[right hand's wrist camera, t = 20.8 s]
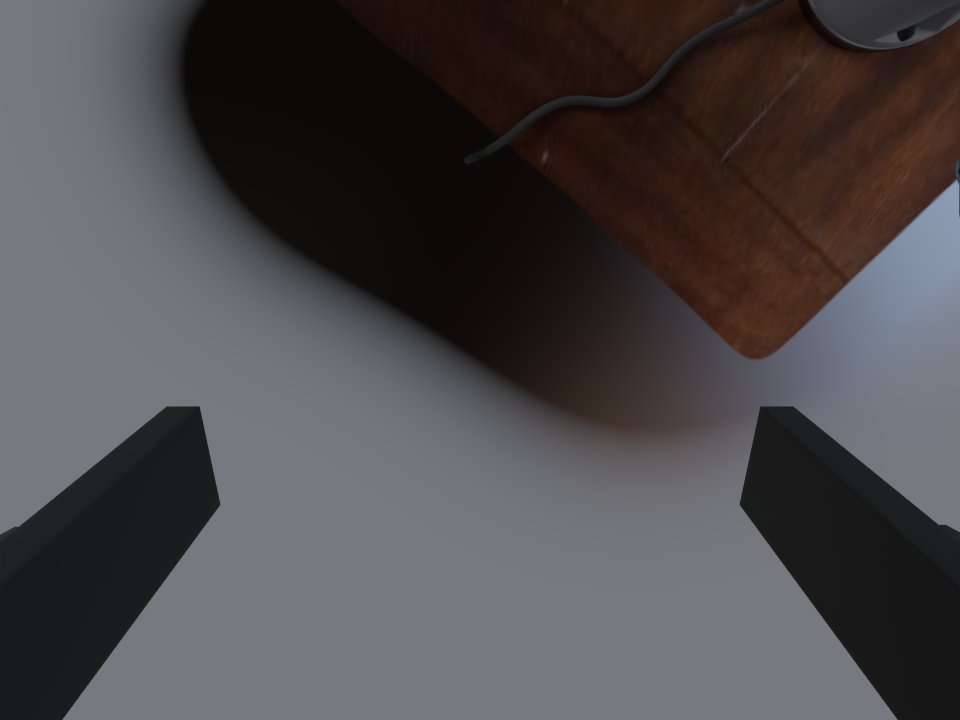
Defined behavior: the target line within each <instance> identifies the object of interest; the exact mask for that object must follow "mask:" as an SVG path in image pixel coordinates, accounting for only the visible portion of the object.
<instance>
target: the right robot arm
mask: <svg viewBox="0 0 960 720" xmlns="http://www.w3.org/2000/svg"><path fill="white" fill-rule="evenodd" d="M782 1H784V0H763V1H761V2H759V3H757V4H755V5H753V6H751V7H749V8H747V9H745V10H743V11H741V12H739V13H737V14H735V15H733V16H731V17H729V18H727V19H724V20H722V21H720V22H718V23H716V24H714V25H712V26H710V27H708V28H707V29H705V30H703V31H701V32H700V33H698V34H697V35H695V36H694V37H692V38H691V39H689V40H688V41H687V42H685V43H684V44H683V45H682V46H681V47H679V48H678V49H677V50H676V51H675V52H674V53H673V54H672V55H671V57H670V58H669V59H668V60H667V61H666V62H665V64H664V65H663V66H662V67H661V68H660V70H659V71H658V72H657V73H656V74H655V75H654V76H653V78H652V79H651V80H650V81H649V82H648V83H646V84H645V85H644V86H643V87H641V88H640V89H638V90H637V91H635V92H633V93H631V94H629V95H626V96H623V97H618V98H601V97H592V96H567V97H562V98H559V99H556V100H553V101H551V102H549V103H547V104H545V105H543V106H541V107H539V108H538V109H536V110H535V111H533V112H532V113H530V114H529V115H528V116H527V117H525V118H524V119H523V120H522V121H520V122H519V123H518V124H517V125H516V126H514V127H513V128H512V129H511V130H510V131H509V132H507V133H506V134H505V135H504V136H502V137H501V138H500V139H498V140H497V141H495V142H494V143H492V144H491V145H489V146H487V147H486V148H484V149H482V150H481V151H478V152H475V153H473V154H472V155H470V156H468V157H466V158H465V159H464V162H465V163H466V164H469V163H472V162H474V161H476V160H480V159H483V158H485V157H487V156H489V155H491V154H492V153H494V152H496V151H497V150H499V149H500V148H502V147H503V146H505V145H506V144H507V143H509V142H510V141H511V140H513V139H514V138H515V137H516V136H517V135H519V134H520V133H521V132H522V131H523V130H525V129H526V128H527V127H528V126H529V125H531V124H532V123H533V122H535V121H536V120H537V119H539V118H540V117H542V116H544V115H545V114H547V113H549V112H551V111H553V110H556V109H558V108H561V107H565V106H571V105H585V106H594V107H604V108H613V107H621V106H625V105H628V104H631V103H633V102H635V101H637V100H639V99H641V98H642V97H644V96H645V95H647V94H648V93H649V92H650V91H652V90H653V89H654V88H655V87H656V86H657V85H658V84H659V82H660V81H661V80H662V79H663V78H664V77H665V76H666V74H667V73H668V72H669V71H670V70H671V68H672V67H673V66H674V65H675V64H676V63H677V62H678V61H679V60H680V59H681V58H682V57H683V56H684V55H685V54H686V53H687V52H688V51H690V50H691V49H692V48H694V47H695V46H697V45H698V44H700V43H701V42H703V41H704V40H706V39H708V38H710V37H712V36H713V35H715V34H717V33H720V32H722V31H724V30H726V29H728V28H730V27H732V26H735V25H737V24H739V23H741V22H743V21H745V20H747V19H749V18H751V17H753V16H755V15H757V14H759V13H761V12H763V11H764V10H766V9H768V8H770V7H772V6H774V5H776V4H778V3H780V2H782ZM799 3H800V6H801V8H802V10H803V12H804V14H805V16H806V17H807V19H808V20H809V22H810V23H811V24H812V26H813V27H814V28H815V29H816V30H817V31H818V32H819V33H820V34H821V35H822V36H823V37H825V38H826V39H827V40H829V41H830V42H832V43H834V44H835V45H838V46H840V47H842V48H845V49H849V50H852V51H858V52H882V51H887V50H892V49H896V48H900V47H904V46H908V45H911V44H915V43H917V42H920V41H922V40H925V39H927V38H929V37H931V36H933V35H935V34H937V33H938V32H940V31H942V30H944V29H945V28H947V27H949V26H950V25H952V24H953V23H955V22H956V21H957V20H959V19H960V0H799ZM955 174H956V177H957V180H958V183H959V185H960V158H959V159H958V161H957V164H956V169H955ZM959 188H960V187H959ZM959 215H960V189H959ZM219 506H220V501H219V496H218V491H217V486H216V482H215V477H214V472H213V468H212V463H211V459H210V453H209V449H208V444H207V439H206V435H205V430H204V425H203V421H202V416H201V411H200V407H166V408H164V409H163V410H162V411H161V412H160V413H158V414H157V415H156V416H155V417H153V418H152V419H151V420H150V421H148V422H147V423H146V424H145V425H144V426H142V427H141V428H140V429H139V430H137V431H136V432H135V433H134V434H132V435H131V436H130V437H129V438H128V439H126V440H125V441H124V442H123V443H121V444H120V445H119V446H118V447H117V448H115V449H114V450H113V451H112V452H110V453H109V454H108V455H107V456H105V457H104V458H103V459H102V460H101V461H99V462H98V463H97V464H96V465H94V466H93V467H92V468H91V469H89V470H88V471H87V472H86V473H85V474H83V475H82V476H81V477H80V478H78V479H77V480H76V481H75V482H74V483H72V484H71V485H70V486H69V487H67V488H66V489H65V490H64V491H62V492H61V493H60V494H59V495H57V496H56V497H55V498H54V499H53V500H51V501H50V502H49V503H48V504H46V505H45V506H44V507H43V508H42V509H40V510H39V511H38V512H37V513H35V514H34V515H33V516H32V517H30V518H29V519H28V520H27V521H26V522H24V523H23V524H22V525H21V526H19V527H14V528H12V529H10V530H8V531H6V532H4V533H3V534H1V535H0V720H62V719H63V718H64V717H65V715H66V714H67V713H68V711H69V710H70V708H71V707H72V706H73V704H74V703H75V702H76V700H77V699H78V698H79V696H80V695H81V693H82V692H83V691H84V689H85V688H86V687H87V685H88V684H89V683H90V681H91V680H92V679H93V677H94V676H95V674H96V673H97V672H98V670H99V669H100V668H101V666H102V665H103V664H104V662H105V661H106V660H107V658H108V657H109V655H110V654H111V653H112V651H113V650H114V649H115V647H116V646H117V645H118V643H119V642H120V640H121V639H122V638H123V636H124V635H125V634H126V632H127V631H128V630H129V628H130V627H131V626H132V624H133V623H134V621H135V620H136V619H137V617H138V616H139V615H140V613H141V612H142V611H143V609H144V608H145V607H146V605H147V604H148V602H149V601H150V600H151V598H152V597H153V596H154V594H155V593H156V592H157V590H158V589H159V587H160V586H161V585H162V583H163V582H164V581H165V579H166V578H167V577H168V575H169V574H170V572H171V571H172V570H173V568H174V567H175V566H176V564H177V563H178V562H179V560H180V559H181V558H182V556H183V555H184V553H185V552H186V551H187V549H188V548H189V547H190V545H191V544H192V543H193V541H194V540H195V538H196V537H197V536H198V534H199V533H200V532H201V530H202V529H203V528H204V526H205V525H206V524H207V522H208V521H209V519H210V518H211V517H212V515H213V514H214V513H215V511H216V510H217V509H218V507H219ZM740 506H741V507H742V509H743V510H744V511H745V513H746V514H747V515H748V517H749V518H750V519H751V521H752V522H753V524H754V525H755V526H756V527H757V529H758V530H759V532H760V533H761V534H762V536H763V537H764V538H765V540H766V541H767V543H768V544H769V545H770V547H771V548H772V549H773V551H774V552H775V553H776V555H777V556H778V558H779V559H780V560H781V562H782V563H783V564H784V566H785V567H786V568H787V570H788V571H789V573H790V574H791V575H792V577H793V578H794V579H795V581H796V582H797V583H798V585H799V586H800V587H801V589H802V590H803V592H804V593H805V594H806V596H807V597H808V598H809V600H810V601H811V602H812V604H813V605H814V606H815V608H816V609H817V611H818V612H819V613H820V615H821V616H822V617H823V619H824V620H825V621H826V623H827V624H828V626H829V627H830V628H831V630H832V631H833V632H834V634H835V635H836V636H837V638H838V639H839V640H840V642H841V643H842V645H843V646H844V647H845V648H846V650H847V651H848V653H849V654H850V655H851V657H852V658H853V660H854V661H855V662H856V663H857V665H858V666H859V668H860V669H861V670H862V672H863V673H864V674H865V676H866V677H867V679H868V680H869V681H870V683H871V684H872V685H873V687H874V688H875V689H876V691H877V692H878V693H879V695H880V696H881V698H882V699H883V700H884V702H885V703H886V704H887V706H888V707H889V708H890V710H891V711H892V713H893V714H894V715H895V717H896V718H897V719H898V720H960V532H958V531H956V530H954V529H952V528H951V527H949V526H947V525H938V524H937V523H936V522H934V521H933V520H932V519H931V518H930V517H928V516H927V515H926V514H925V513H923V512H922V511H921V510H920V509H918V508H917V507H916V506H915V505H914V504H912V503H911V502H910V501H909V500H907V499H906V498H905V497H904V496H902V495H901V494H900V493H899V492H898V491H896V490H895V489H894V488H893V487H891V486H890V485H889V484H888V483H887V482H885V481H884V480H883V479H882V478H880V477H879V476H878V475H877V474H875V473H874V472H873V471H872V470H871V469H869V468H868V467H867V466H866V465H864V464H863V463H862V462H861V461H859V460H858V459H857V458H856V457H855V456H853V455H852V454H851V453H850V452H848V451H847V450H846V449H845V448H844V447H842V446H841V445H840V444H839V443H837V442H836V441H835V440H834V439H832V438H831V437H830V436H829V435H828V434H826V433H825V432H824V431H823V430H821V429H820V428H819V427H818V426H816V425H815V424H814V423H813V422H812V421H810V420H809V419H808V418H807V417H805V416H804V415H803V414H802V413H800V412H799V411H798V410H797V409H796V408H794V407H760V411H759V416H758V421H757V425H756V430H755V435H754V439H753V444H752V449H751V453H750V458H749V463H748V468H747V472H746V477H745V482H744V486H743V491H742V496H741V501H740Z"/></svg>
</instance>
